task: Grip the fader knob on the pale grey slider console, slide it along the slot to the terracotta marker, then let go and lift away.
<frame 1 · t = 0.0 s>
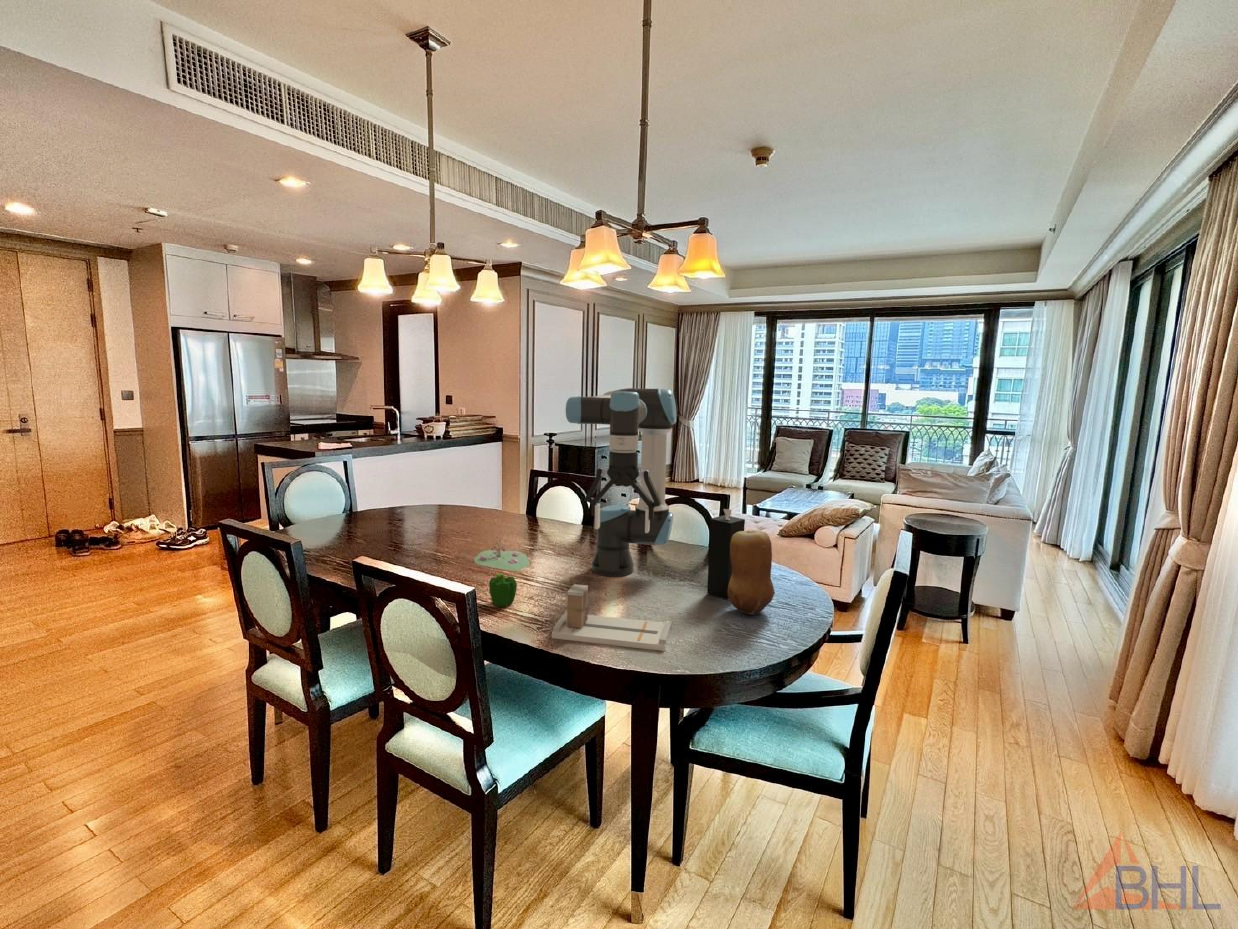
hand: (622, 530, 158), 28 cm above the table, tool pointing down, fingers open, 13 cm apart
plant: (505, 562, 221), on the table
slider console: (613, 633, 160), on the table
fader knob: (577, 605, 161), point 7 cm above the table, slide at 0.0 cm
butternut squash: (749, 613, 176), on the table
tissue box: (724, 594, 191), on the table
bell pepper: (502, 604, 179), on the table
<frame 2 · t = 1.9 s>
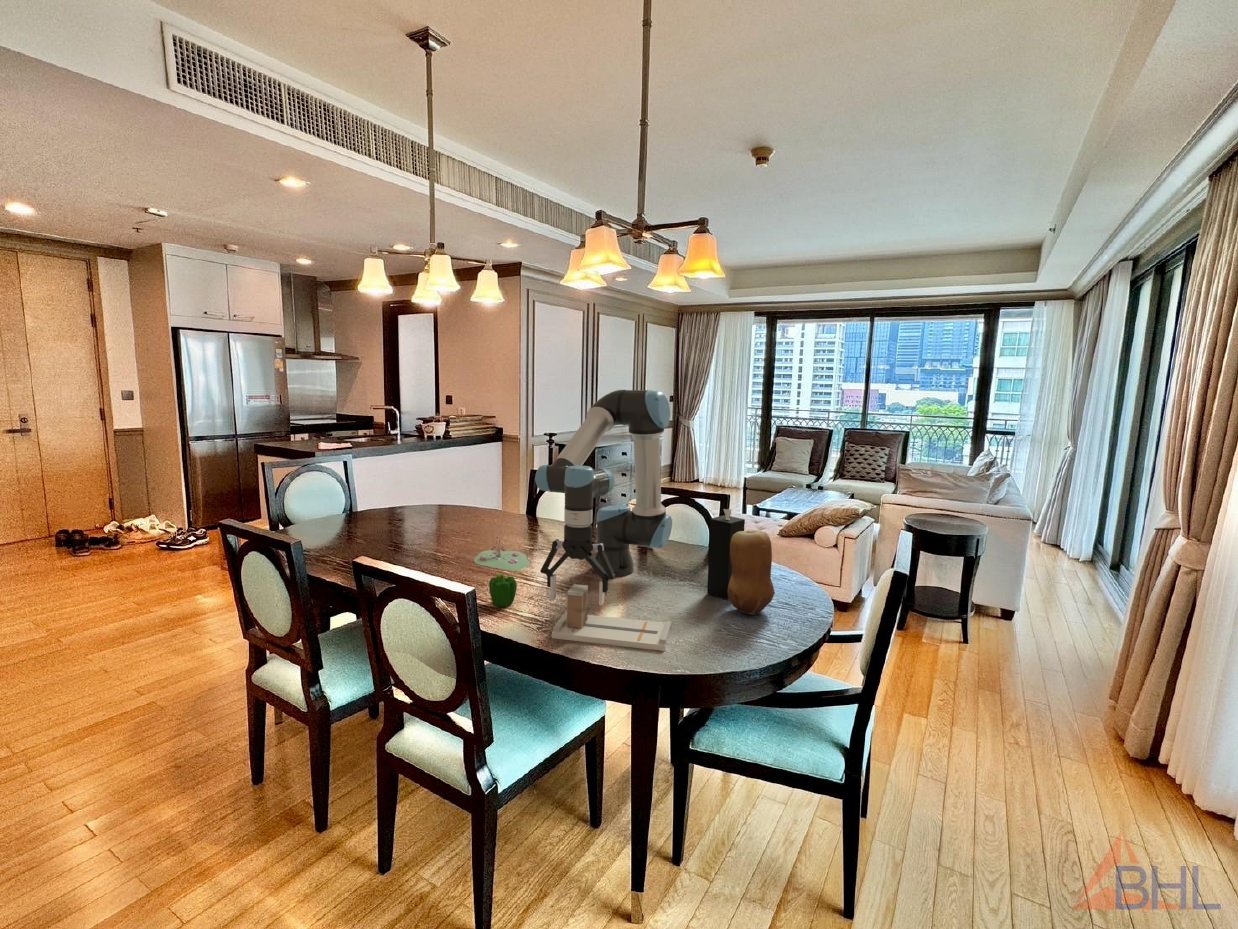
hand: (577, 601, 161), 8 cm above the table, tool pointing down, fingers open, 13 cm apart
nothing on the table moved.
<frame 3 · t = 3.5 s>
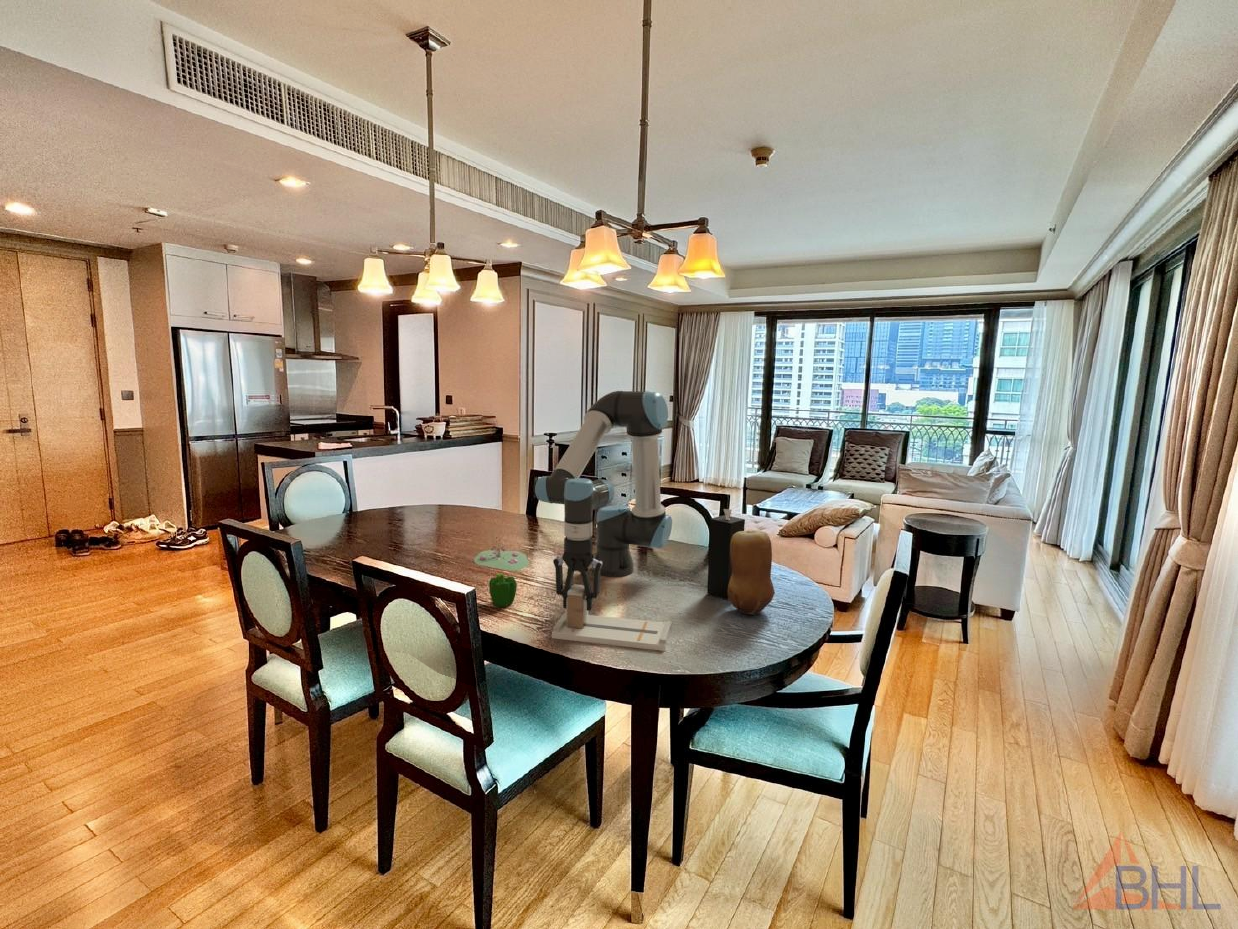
hand: (577, 620, 162), 3 cm above the table, tool pointing down, fingers closed on fader knob, 4 cm apart
fader knob: (577, 605, 161), point 7 cm above the table, slide at 0.0 cm, touching gripper
everything else where it was.
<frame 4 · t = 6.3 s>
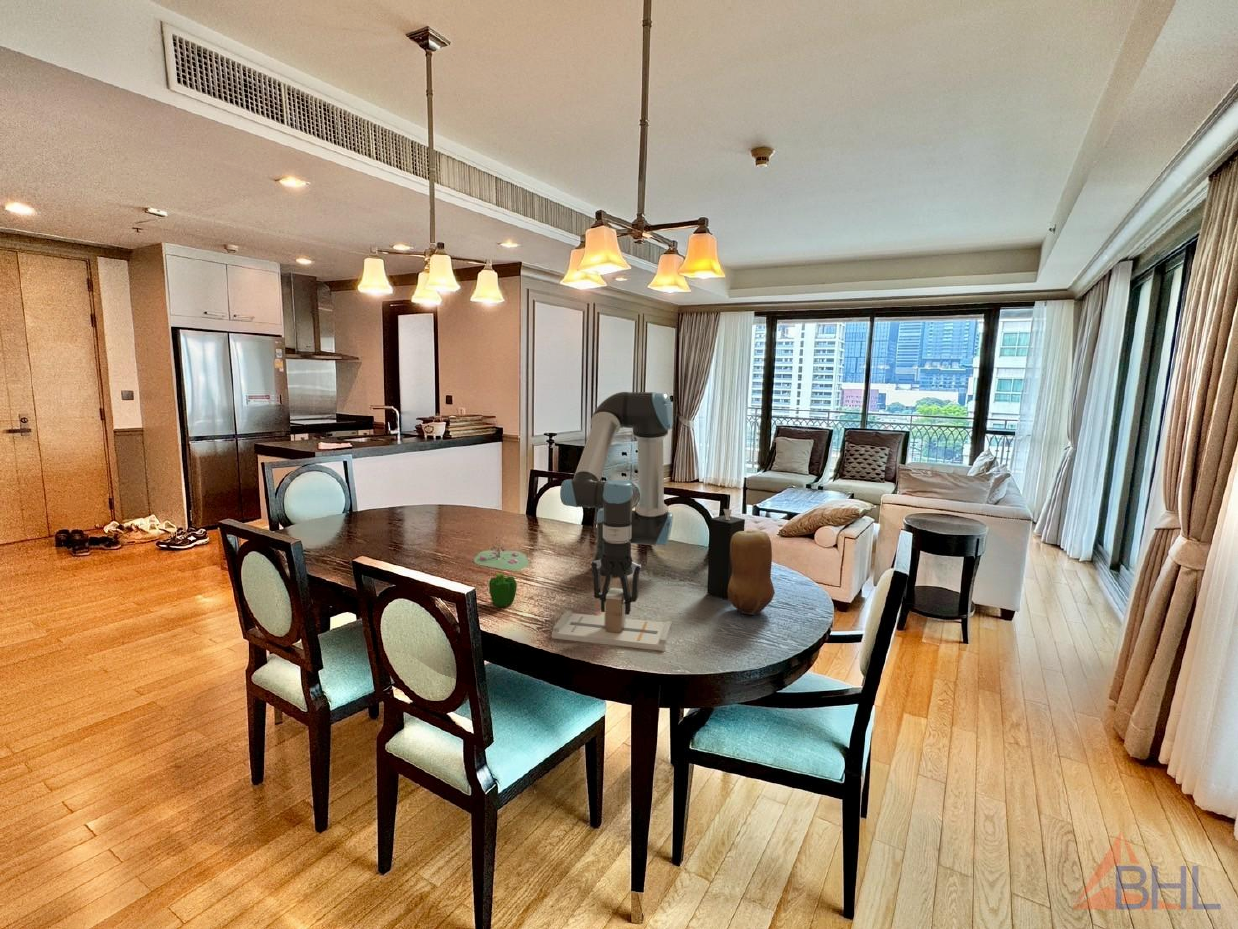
hand: (615, 624, 159), 3 cm above the table, tool pointing down, fingers closed on fader knob, 4 cm apart
fader knob: (615, 609, 159), point 7 cm above the table, slide at 10.6 cm, touching gripper
everything else where it was.
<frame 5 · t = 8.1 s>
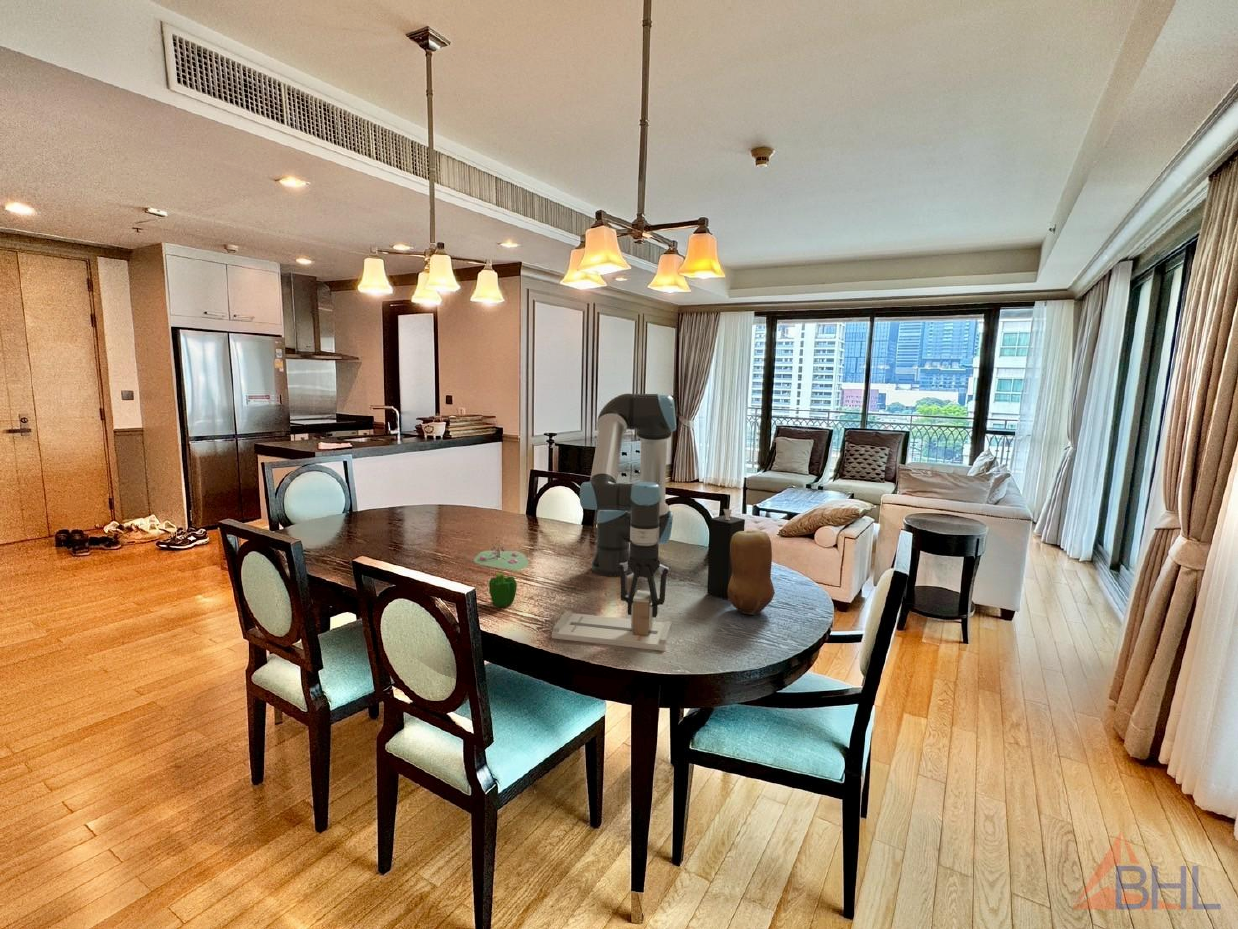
hand: (642, 627, 158), 3 cm above the table, tool pointing down, fingers closed on fader knob, 4 cm apart
fader knob: (642, 612, 157), point 7 cm above the table, slide at 17.9 cm, touching gripper
everything else where it was.
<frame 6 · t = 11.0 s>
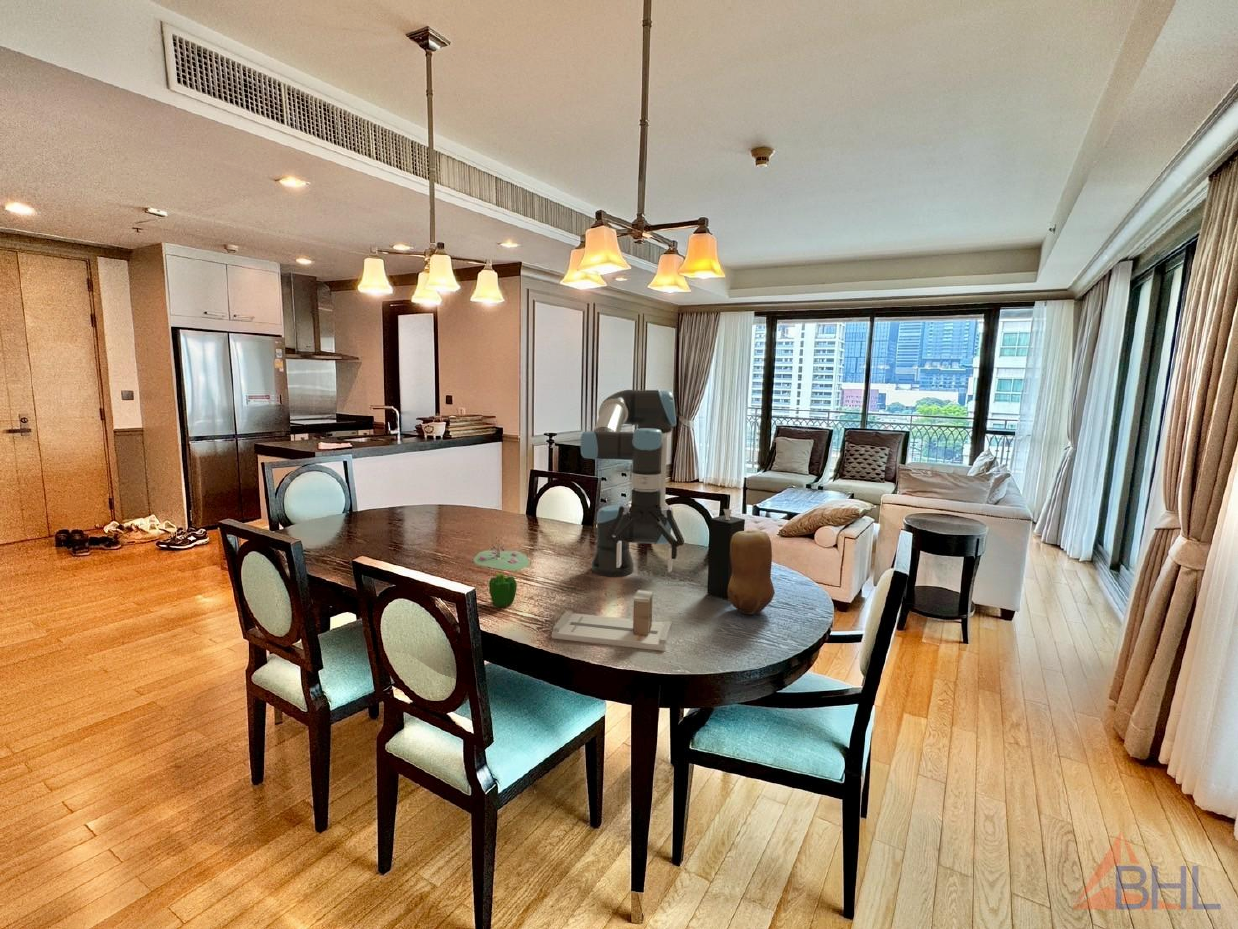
hand: (644, 568, 156), 19 cm above the table, tool pointing down, fingers open, 13 cm apart
fader knob: (642, 612, 157), point 7 cm above the table, slide at 18.0 cm
everything else where it was.
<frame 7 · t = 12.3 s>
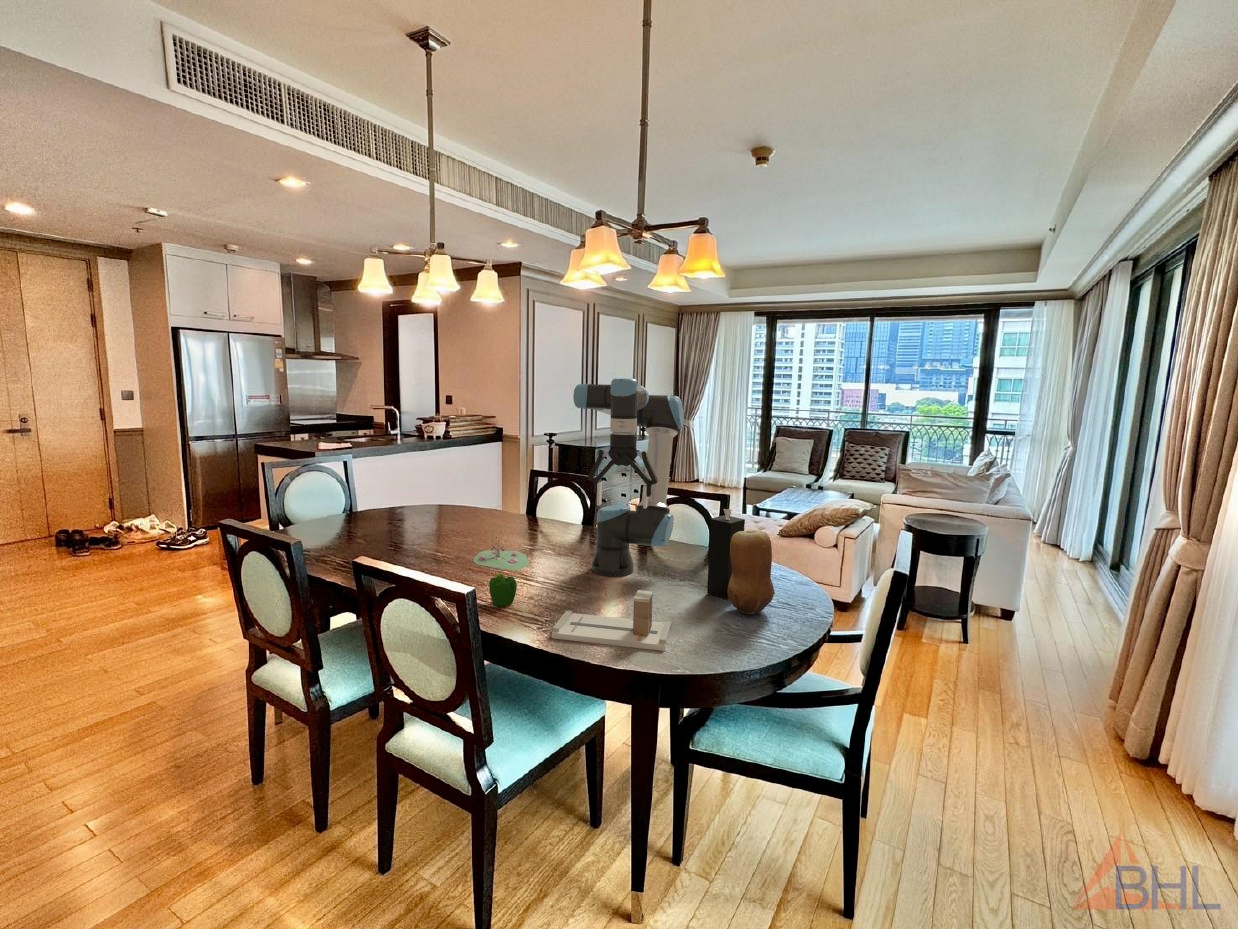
hand: (622, 506, 172), 31 cm above the table, tool pointing down, fingers open, 13 cm apart
nothing on the table moved.
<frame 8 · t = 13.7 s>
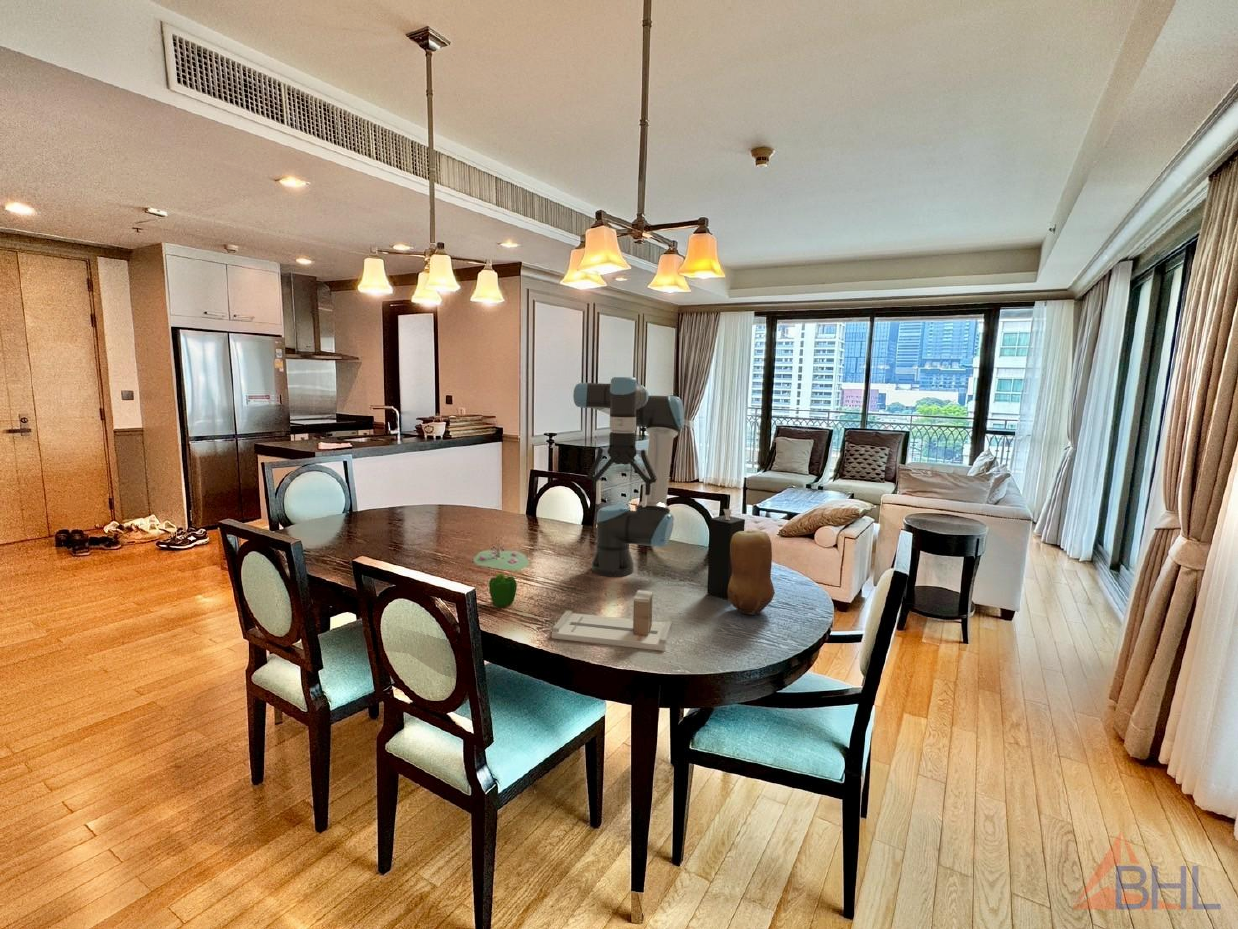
hand: (621, 504, 172), 32 cm above the table, tool pointing down, fingers open, 13 cm apart
nothing on the table moved.
at the end: fader knob slide at 18.0 cm; the gripper is holding nothing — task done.
